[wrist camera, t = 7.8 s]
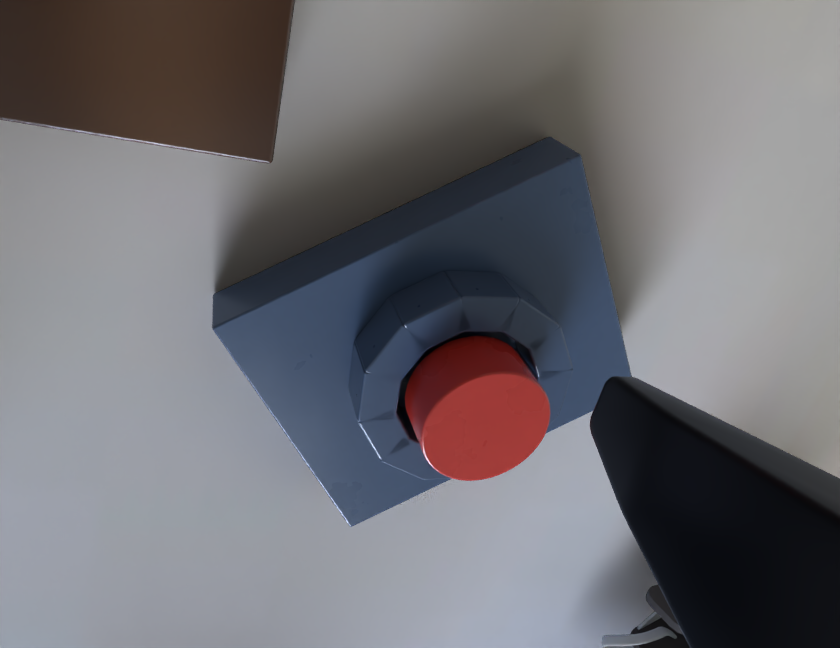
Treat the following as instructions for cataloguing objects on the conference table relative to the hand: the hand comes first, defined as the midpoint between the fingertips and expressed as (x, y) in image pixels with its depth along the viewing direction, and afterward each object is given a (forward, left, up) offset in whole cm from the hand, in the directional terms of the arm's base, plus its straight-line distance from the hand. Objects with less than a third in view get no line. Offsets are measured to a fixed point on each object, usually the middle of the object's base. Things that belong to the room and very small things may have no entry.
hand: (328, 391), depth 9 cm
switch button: (+5, -7, -8) cm, 12 cm away
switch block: (+5, -7, -12) cm, 15 cm away
